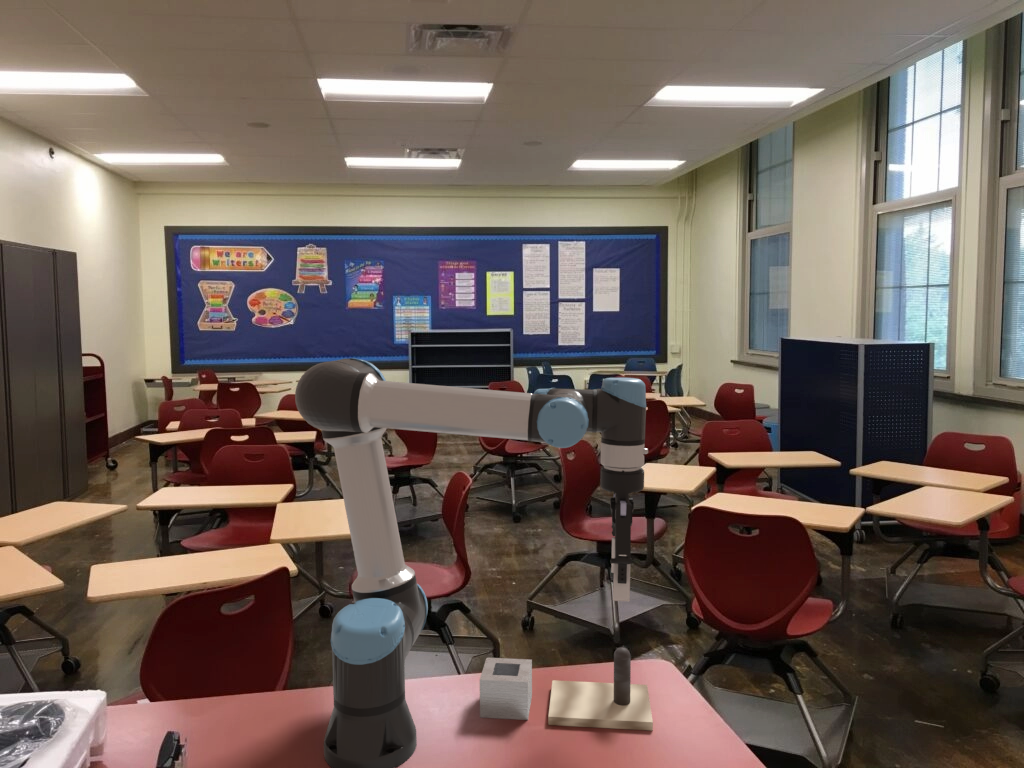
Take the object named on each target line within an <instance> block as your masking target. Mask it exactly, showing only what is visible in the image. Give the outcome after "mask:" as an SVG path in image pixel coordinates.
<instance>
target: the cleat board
mask: <svg viewBox="0 0 1024 768" xmlns="http://www.w3.org/2000/svg"><path fill="white" fill-rule="evenodd" d="M631 655H632V654H631V653H630V650H628V649H627V648H626V647H622V646H621V647H620V646H619V647H617V648H616V649H615V651H614V653H613V682H599V681H597V682H595V681H573V680H556V679H554V680H553V679H552V681H551V688H550V689H551V691H550V700H549V707H548V708H549V709H548V717H547V718H548V719H547V720H548V723H547V724H548V726H562V727H580V728H599V729H614V730H615V729H617V730H620V729H621V730H635V731H637V730H639V731H653V729H654V727H653V726H654V722H653V715H652V714H653V713H652V708H651V701H650V696H649V695H650V694H649V687H648V684H640V683H639V684H635V683H631V678H632V677H631V673H632V672H631V670H632V669H631V664H632V663H631V662H632V661H631V659H632V656H631Z"/></svg>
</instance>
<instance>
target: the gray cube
mask: <svg viewBox="0 0 1024 768" xmlns="http://www.w3.org/2000/svg"><path fill="white" fill-rule="evenodd" d="M532 697H533V659H527V658H526V659H525V658H505V657H502V658H501V657H486V659H485V661H484V665H483V667H482V671H481V674H480V677H479V718H486V719H500V720H501V719H502V720H517V721H518V720H520V721H521V720H523V721H529V716H530V715H529V714H530V711H531V709H530V708H531V703H532Z"/></svg>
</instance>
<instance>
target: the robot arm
mask: <svg viewBox="0 0 1024 768" xmlns="http://www.w3.org/2000/svg"><path fill="white" fill-rule="evenodd" d="M646 389H647V388H646V384H645V382H644V381H643V380H641V379H640V378H635V377H606V378H604V379H603V380H602V385H601V388H595V389H583V388H581V389H579V388H556V387H551V388H538V389H536V390H535V391H534V392H533V393H531V392H530V393H529V392H519V391H509V390H508V391H506V390H495V389H494V390H493V389H485V388H483V389H482V388H472V387H461V386H447V385H436V384H427V383H426V384H425V383H413V382H400V381H389V380H388V381H387V380H386V378H385V376H384V374H383V373H382V371H380V369H379V368H378V367H377V366H375V365H374V363H372V362H370V361H367V360H365V359H359V358H356V357H355V358H354V357H351V358H345V357H344V358H341V359H336V360H331V361H324V362H320V363H317V364H315V365H312V366H311V367H310V368H308V369H307V370H306V371H305V372H304V373H303V374H302V375H301V376H300V378H299V380H298V382H297V384H296V387H295V394H294V398H295V400H294V402H295V405H296V409H297V411H298V413H299V414H300V416H301V417H302V419H303V420H304V421H306V422H307V424H308V425H310V426H312V427H313V428H315V429H319V430H320V431H321V435H322V439H323V441H324V442H326V443H327V444H329V445H330V446H331V447H333V450H334V456H335V461H336V467H337V471H338V472H337V473H338V476H339V483H340V487H341V491H342V497H343V498H342V499H343V503H344V508H345V513H346V519H347V523H348V530H349V534H350V540H351V545H352V550H353V556H354V560H355V561H354V562H355V566H356V570H357V577H356V578H355V580H354V581H353V583H352V584H351V591H352V597H353V601H354V602H353V603H349V604H347V605H345V606H344V607H343V608H341V609H340V610H339V611H338V612H337V614H336V615H335V616H334V618H333V620H332V624H331V633H330V646H331V663H332V665H331V666H332V689H333V690H332V691H333V692H332V693H333V707H332V712H331V715H330V718H329V721H328V725H327V728H326V732H325V735H324V738H323V756H324V760H325V762H326V763H327V764H328V766H329V767H331V768H397V767H399V766H401V765H402V764H404V763H405V762H407V761H408V760H409V759H410V758H411V757H412V756H413V754H414V752H415V751H416V749H417V743H418V740H417V738H418V737H417V736H418V735H417V729H416V725H415V722H414V718H413V716H412V714H411V711H410V708H409V705H408V704H407V703H408V702H407V700H406V678H405V676H406V672H405V670H406V669H405V664H406V659H407V657H408V655H409V652H410V651H411V650H412V648H413V646H414V644H415V642H416V641H417V639H418V637H419V636H420V634H421V633H422V631H423V630H424V627H425V624H426V622H427V616H428V610H429V607H428V599H427V596H426V593H425V591H424V589H423V587H422V586H421V585H420V584H419V583H418V581H417V577H416V572H415V570H414V569H413V568H412V567H410V566H408V565H407V564H406V563H405V562H406V561H405V558H404V552H403V547H402V542H401V541H402V540H401V537H400V532H399V531H400V530H399V525H398V520H397V515H396V511H395V510H396V509H395V503H394V499H393V493H392V488H391V484H390V477H389V471H388V466H387V462H386V456H385V452H384V451H385V450H384V445H383V440H382V438H383V435H384V434H385V432H386V431H387V429H390V430H391V429H393V430H403V431H414V432H416V431H417V432H425V433H426V432H428V433H438V434H439V433H440V434H452V435H461V436H473V437H484V438H498V439H508V440H520V441H529V442H536V443H537V442H539V443H546V444H548V445H550V446H552V447H553V448H558V449H567V448H570V447H571V448H572V447H573V446H574V445H576V444H578V443H579V442H580V441H581V440H582V439H583V438H584V436H585V434H586V433H601V439H600V440H601V441H600V464H601V465H602V467H601V468H600V483H599V485H600V487H601V489H602V490H603V491H607V492H610V493H612V492H613V497H609V507H610V515H611V529H612V531H611V534H612V537H611V558H610V560H609V561H610V564H611V565H610V567H611V569H610V573H612V574H613V585H612V587H613V590H612V602H613V601H614V602H630V600H631V599H630V598H631V597H630V595H631V593H630V592H631V565H632V560H633V559H632V558H631V557H632V556H631V555H632V552H631V551H632V550H631V549H632V548H631V546H632V545H631V543H632V539H631V538H632V537H631V536H632V535H631V534H632V533H631V532H632V529H631V528H632V525H633V513H634V510H635V509H634V507H635V505H634V500H633V497H631V498H630V494H631V493H635V494H636V493H640V492H641V491H643V490H644V488H645V469H643V466H644V465H645V455H647V454H649V448H646V447H645V443H646V424H647V423H646V422H647V421H646V420H647V419H646V418H647V400H646V399H647V398H646V397H647V393H646V392H647V390H646Z"/></svg>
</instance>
